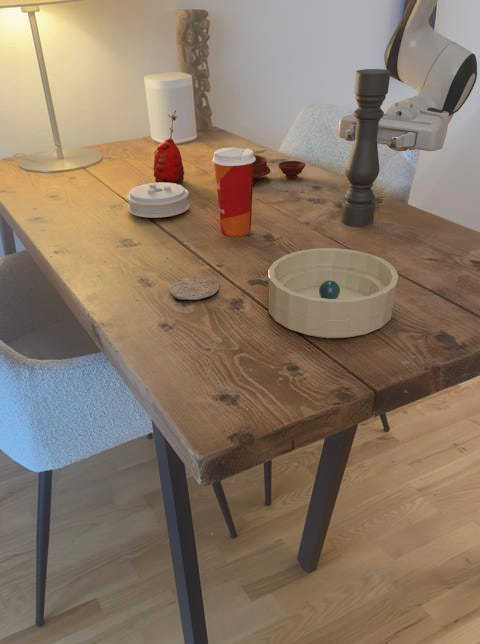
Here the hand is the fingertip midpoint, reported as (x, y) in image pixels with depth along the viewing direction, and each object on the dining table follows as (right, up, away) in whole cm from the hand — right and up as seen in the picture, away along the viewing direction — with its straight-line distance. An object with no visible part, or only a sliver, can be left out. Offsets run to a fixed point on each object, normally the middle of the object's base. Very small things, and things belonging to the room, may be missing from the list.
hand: (371, 139), depth 103 cm
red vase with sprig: (-41, +5, +30) cm, 51 cm away
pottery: (-19, +6, +31) cm, 36 cm away
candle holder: (-1, -13, +7) cm, 15 cm away
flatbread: (-31, -32, -16) cm, 47 cm away
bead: (-11, -33, -22) cm, 41 cm away
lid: (-41, -8, +14) cm, 44 cm away
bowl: (-11, -36, -22) cm, 43 cm away
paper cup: (-25, -16, +4) cm, 30 cm away
